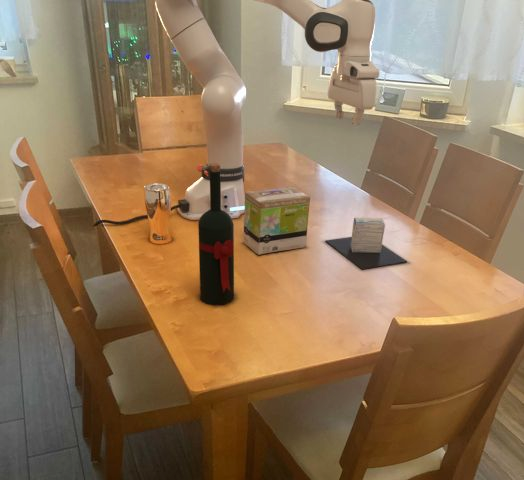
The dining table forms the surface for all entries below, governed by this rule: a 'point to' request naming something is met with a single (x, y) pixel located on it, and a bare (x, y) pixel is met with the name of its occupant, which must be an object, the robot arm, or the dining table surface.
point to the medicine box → (367, 235)
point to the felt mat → (365, 255)
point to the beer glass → (158, 212)
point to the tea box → (275, 219)
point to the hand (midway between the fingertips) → (347, 121)
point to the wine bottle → (216, 248)
